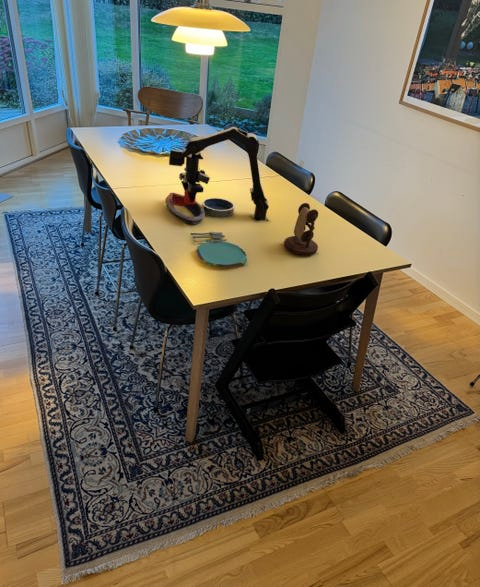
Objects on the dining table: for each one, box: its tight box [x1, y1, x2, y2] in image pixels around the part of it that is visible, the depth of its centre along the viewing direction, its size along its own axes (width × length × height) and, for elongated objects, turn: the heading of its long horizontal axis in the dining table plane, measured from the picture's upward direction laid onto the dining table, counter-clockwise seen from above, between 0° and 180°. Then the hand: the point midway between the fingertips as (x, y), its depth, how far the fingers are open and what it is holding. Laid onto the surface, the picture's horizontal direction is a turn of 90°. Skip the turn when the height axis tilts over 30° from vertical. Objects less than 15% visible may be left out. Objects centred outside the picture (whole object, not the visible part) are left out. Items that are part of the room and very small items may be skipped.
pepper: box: [183, 189, 197, 205], centre depth 209 cm, size 5×5×7 cm
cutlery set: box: [190, 231, 248, 267], centre depth 183 cm, size 20×30×2 cm, turn 19°
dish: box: [164, 192, 206, 225], centre depth 210 cm, size 16×31×5 cm, turn 26°
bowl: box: [201, 197, 235, 219], centre depth 216 cm, size 15×15×4 cm
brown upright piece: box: [283, 202, 319, 256], centre depth 190 cm, size 15×15×20 cm
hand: (189, 199), depth 211 cm, fingers closed on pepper, 5 cm apart
